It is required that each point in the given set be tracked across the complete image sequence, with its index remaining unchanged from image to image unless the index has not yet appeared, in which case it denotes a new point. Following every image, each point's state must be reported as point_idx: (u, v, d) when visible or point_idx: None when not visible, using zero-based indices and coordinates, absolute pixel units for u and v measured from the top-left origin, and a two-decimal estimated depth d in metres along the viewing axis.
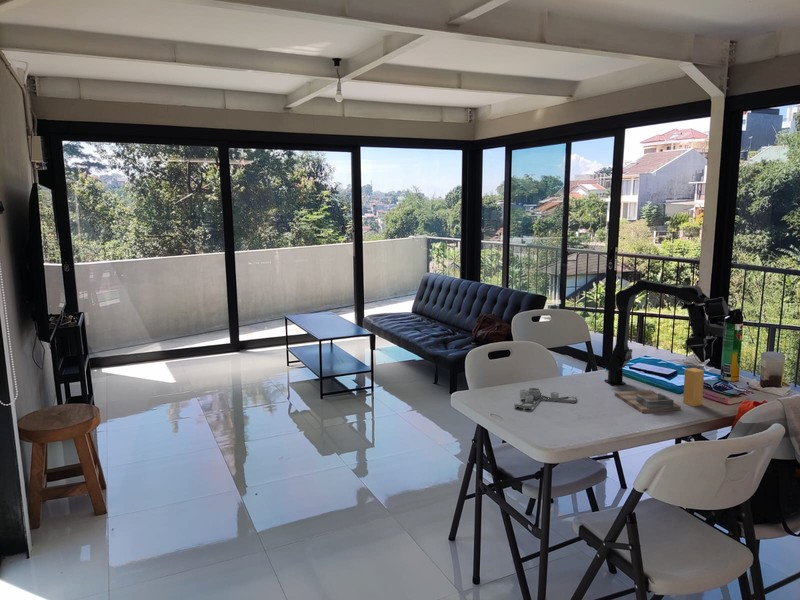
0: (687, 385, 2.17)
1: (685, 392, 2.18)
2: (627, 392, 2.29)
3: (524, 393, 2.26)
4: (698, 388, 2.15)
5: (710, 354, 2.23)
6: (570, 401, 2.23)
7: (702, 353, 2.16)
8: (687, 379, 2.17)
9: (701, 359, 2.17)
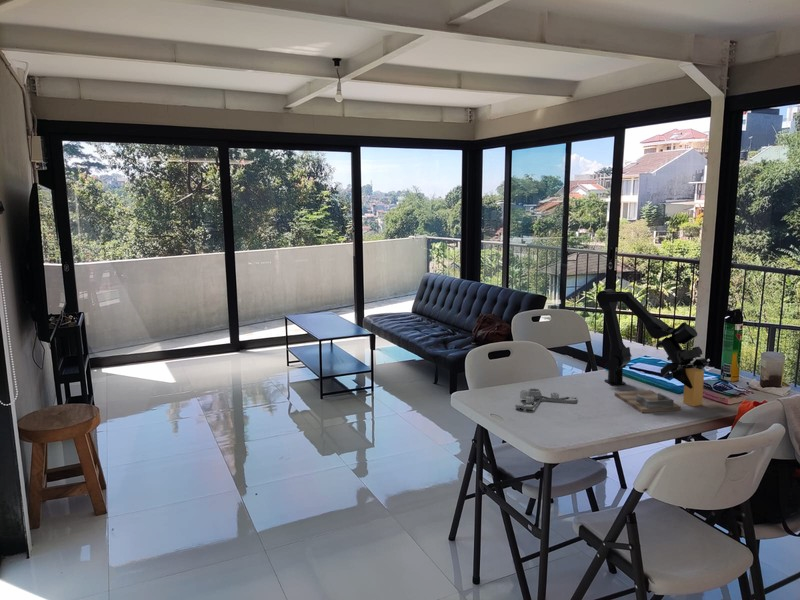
0: None
1: (685, 392, 2.18)
2: (627, 392, 2.29)
3: (524, 394, 2.26)
4: (698, 388, 2.15)
5: None
6: (570, 401, 2.23)
7: (685, 379, 2.16)
8: None
9: (688, 385, 2.16)
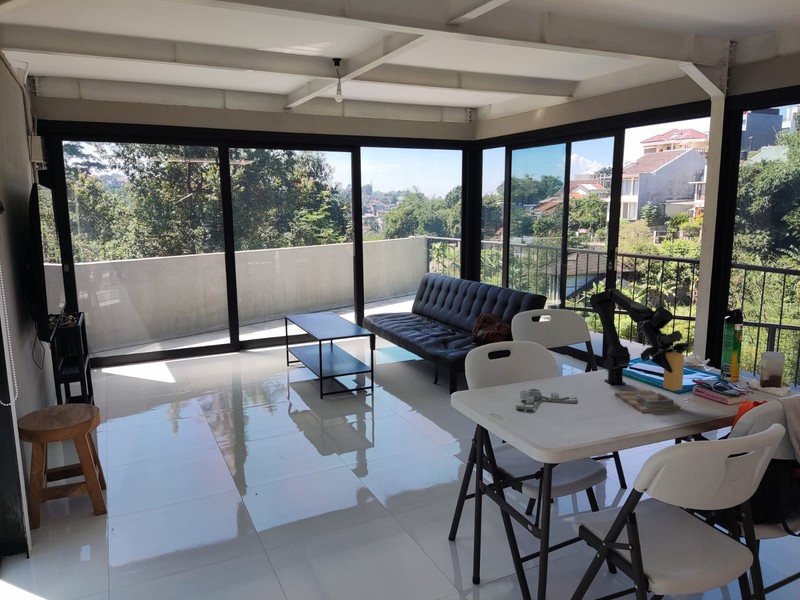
0: None
1: (665, 376, 2.16)
2: (627, 392, 2.29)
3: (525, 394, 2.25)
4: (678, 372, 2.13)
5: None
6: (571, 402, 2.22)
7: (665, 363, 2.14)
8: None
9: (668, 369, 2.14)
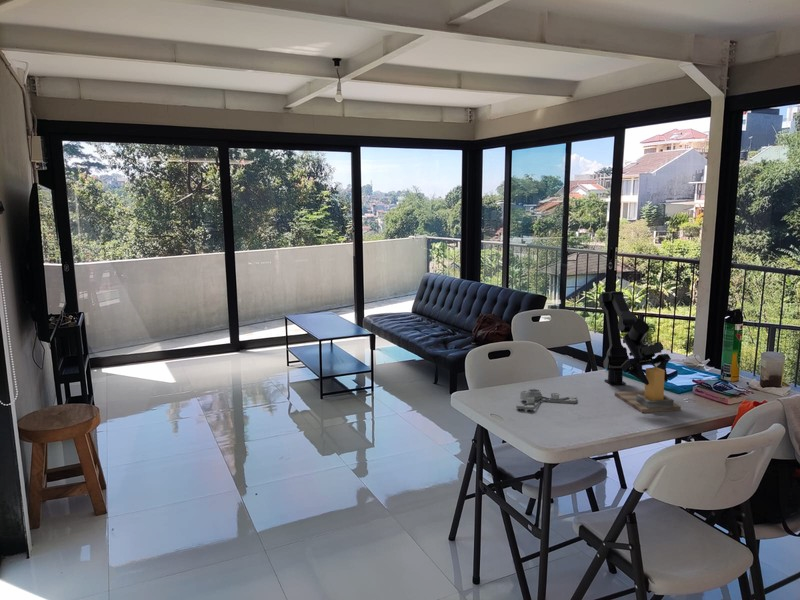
0: (647, 385, 2.15)
1: (646, 391, 2.16)
2: (627, 392, 2.29)
3: (525, 394, 2.25)
4: (658, 387, 2.13)
5: (665, 378, 2.15)
6: (571, 402, 2.22)
7: (641, 375, 2.13)
8: (648, 379, 2.15)
9: (644, 382, 2.13)
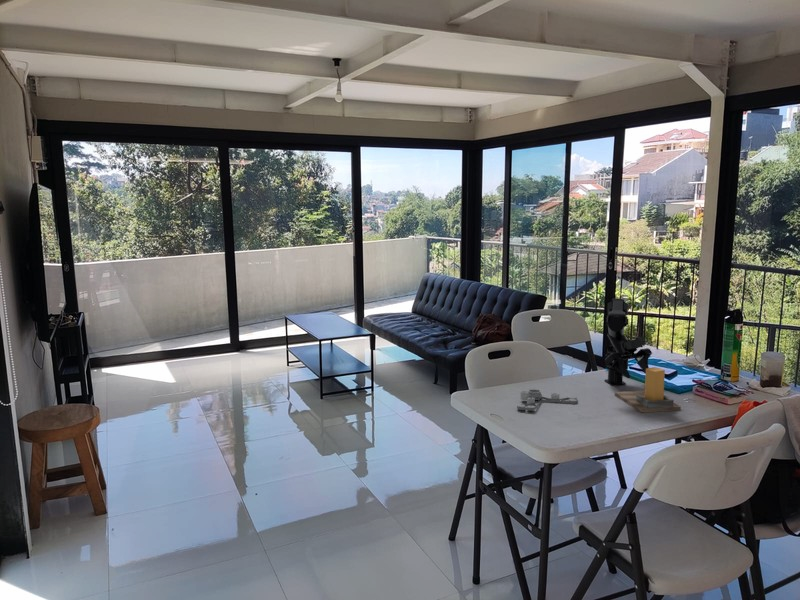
0: (647, 385, 2.15)
1: (646, 391, 2.16)
2: (627, 392, 2.29)
3: (525, 395, 2.24)
4: (658, 387, 2.13)
5: None
6: (571, 402, 2.22)
7: (623, 369, 2.22)
8: (648, 379, 2.15)
9: (626, 375, 2.21)
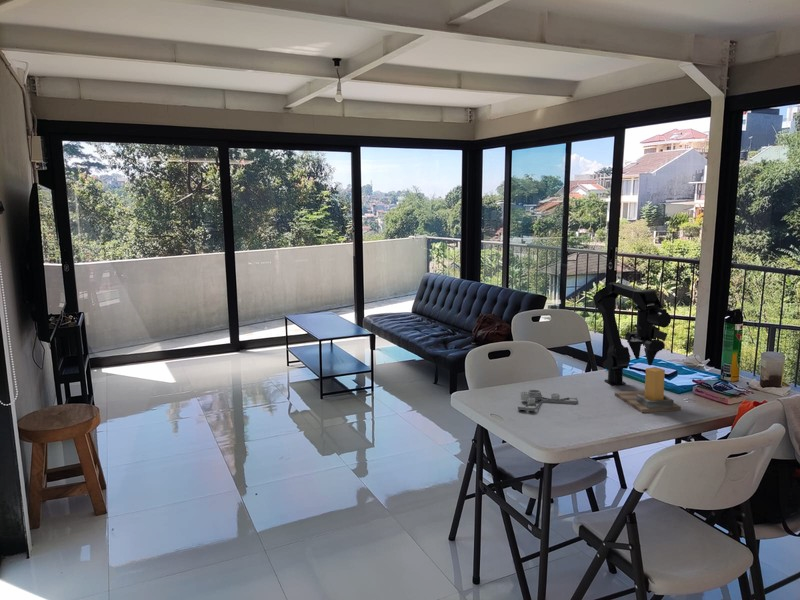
0: (647, 385, 2.15)
1: (646, 391, 2.16)
2: (627, 392, 2.29)
3: (525, 395, 2.24)
4: (658, 387, 2.13)
5: (638, 356, 2.33)
6: (572, 402, 2.22)
7: (654, 356, 2.22)
8: (648, 379, 2.15)
9: (650, 362, 2.23)
